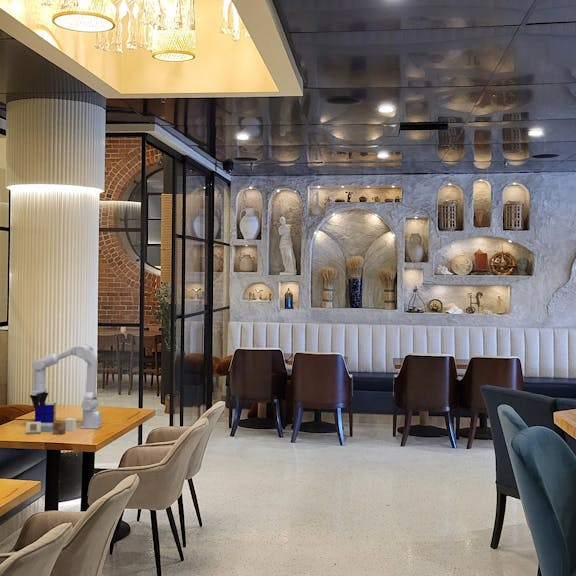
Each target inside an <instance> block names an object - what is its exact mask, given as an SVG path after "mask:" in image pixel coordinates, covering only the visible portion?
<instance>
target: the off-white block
mask: <svg viewBox="0 0 576 576" xmlns="http://www.w3.org/2000/svg"><path fill="white" fill-rule="evenodd" d="M63 421H65V422H66V430H65V432H75V431H76V430H77V418H76V417H67V418H64V419H63Z"/></svg>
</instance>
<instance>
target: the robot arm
mask: <svg viewBox="0 0 576 576" xmlns="http://www.w3.org/2000/svg"><path fill="white" fill-rule="evenodd" d="M69 356H75V357H76V356H77V358H80V359H82V360H83V361H84V362H85V363H86V364H87V366H86V382H85V393H84V395H83V400H82V402H81V409H82V425H81V426H80V427H79V428H80V429H99V428H101V427H103V425H102V424H103V423H102V420H103V419H102V412H101V410H97V409H98V405H99V400H98V394H97V391H96V390H97V378H98V377H97V374H98V362H99V361H98V358H97V355H96V352H95V350H94V348H93V347H92V346H91V345H89V344H87V343H86V344H83V345H78V346H73V347H71V348H68V349H65V350H64V351H61V352H60V353H57V354H56V353H55V352H54V353H52V352H49V353H48V355H46V356H42V357H40V359H36V360H34V361H33V363H32V368H33V372H34V373H33V389H32V390H31V394H30V395H29V398H30V399H31V402H32V405H33V409H35V408H38V407H39V403H40V406H44V405H45V402H46V400H47V398H48V396H49V392H48V391H47V388H46V368H47V369H48V368H49V367H51V366H54V365H57V364H59V362H60V360H62V359H65V358H67V357H69Z"/></svg>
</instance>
